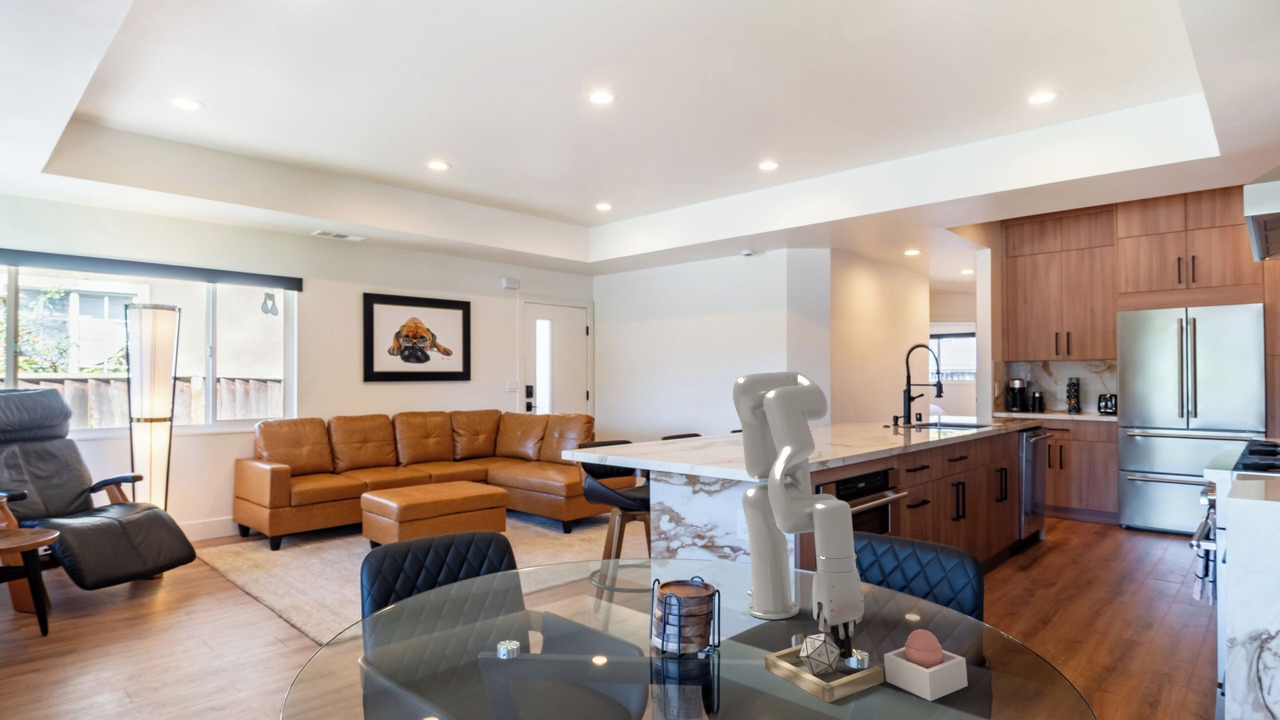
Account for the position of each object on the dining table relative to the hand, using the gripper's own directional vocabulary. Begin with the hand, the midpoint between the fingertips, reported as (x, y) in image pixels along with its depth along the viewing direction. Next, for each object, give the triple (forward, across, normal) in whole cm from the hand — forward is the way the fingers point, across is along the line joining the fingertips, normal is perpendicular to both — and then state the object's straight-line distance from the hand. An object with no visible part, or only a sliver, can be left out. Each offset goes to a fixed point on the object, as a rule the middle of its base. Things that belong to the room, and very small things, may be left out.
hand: (843, 656), depth 135 cm
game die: (+3, +5, -1) cm, 6 cm away
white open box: (+3, -7, +14) cm, 16 cm away
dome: (-1, -7, +14) cm, 15 cm away
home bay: (+3, +5, -1) cm, 6 cm away
